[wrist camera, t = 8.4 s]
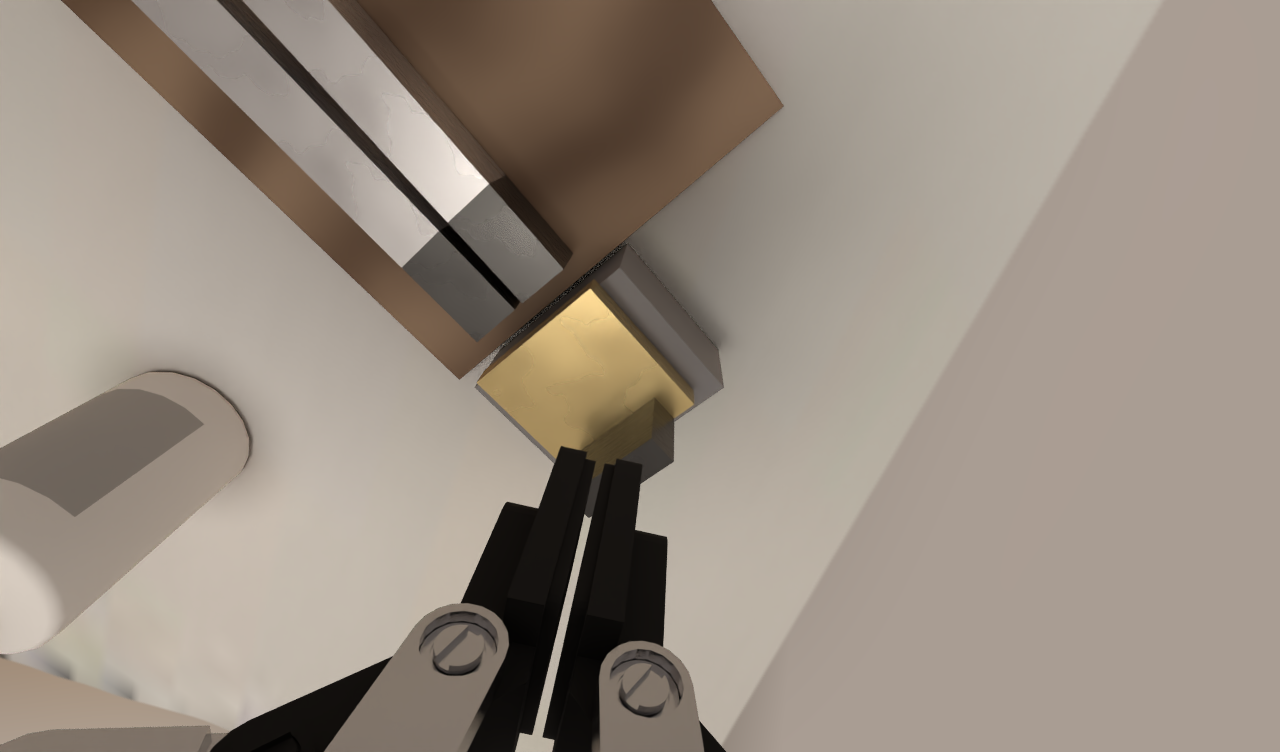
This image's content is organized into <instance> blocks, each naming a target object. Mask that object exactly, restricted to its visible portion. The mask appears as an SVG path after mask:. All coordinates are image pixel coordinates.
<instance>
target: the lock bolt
mask: <svg viewBox="0 0 1280 752" xmlns="http://www.w3.org/2000/svg"><path fill="white" fill-rule="evenodd" d="M477 384H478V385H479V386H480V387H481V388H482V389H483V390H484V391H485V392H487V393H488V394H489V395H490V396H491V397H492V398H493V399H494V400H495V401H496V402H497V403H498V404H499V405H500V406H501V407H502V408H503V409H504V410H505V411H506V412H507V413H508V414H509V415H510V416H511V417H513V418H514V419H515V420H516V421H517V422H518V423H519V424H520V425H521V426H522V427H523V428H524V429H525V430H526V431H527V432H528V433H529V434H530V435H531V436H532V437H533V438H534V439H535V440H536V441H537V442H539V443H540V444H541V445H542V446H543V447H544V448H545V449H546V450H547V451H548V452H549V453H550V454H551V455H552V456H553V457H554V458H555V459H556V458H557V455H558V452H559V450H560V447H561V446H564V447H568V448H573V449H577V450H582V451H586V452H587V457H586V459H589V460H593V461H596V464H595V468H594V473H593V477H592V482H591V486H590V491H589V495H588V500H587V504H586V509H585V513H584V514H585V515H586V516H587V517H588V518H590V517H591V516H592V515H593V511H594V507H595V502H596V498H597V493H598V489H599V485H600V480H601V476H602V472H603V467H604V463H607V464H611V465H615V462H616V458H617V459H622V460H626V461H631V462H635V463H640V464H642V475H641V483H642V482H644V481H645V480H647V479H648V478H650V477H651V476H653V475H654V474H656V473H657V472H659V471H660V470H662V469H663V468H665V467H666V466H668V465H669V464H671V463H672V462H674V418H676V417H677V416H678V415H680V414H681V413H683V412H684V411H686V410H687V409H689V408H690V407H691V406H693V405H694V390H693V389H692V388H691V387H690V386H689V385H688V383H687V382H686V381H685V380H684V379H683V378H682V377H681V376H680V374H679V373H678V372H677V371H676V370H675V369H674V368H673V367H672V365H671V364H670V363H669V362H668V361H667V360H666V359H665V358H664V356H663V355H662V354H661V353H660V352H659V351H658V350H657V349H656V347H655V346H654V345H653V344H652V343H651V342H650V341H649V340H648V338H647V337H646V336H645V335H644V334H643V333H642V332H641V331H640V329H639V328H638V327H637V326H636V325H635V324H634V323H633V322H632V320H631V319H630V318H629V317H628V316H627V315H626V314H625V313H624V312H623V310H622V309H621V308H620V307H619V306H618V305H617V304H616V303H615V301H614V300H613V299H612V298H611V297H610V296H609V295H608V294H607V292H606V291H605V290H604V289H603V288H602V287H601V286H600V285H599V283H598V282H597V281H596V280H595V279H593V280H592V281H591V282H590V283H589V284H587V285H586V286H585V287H584V288H583V289H581V290H580V291H579V292H578V293H577V294H575V295H574V296H573V297H572V298H571V299H569V300H568V301H567V302H566V303H565V304H563V305H562V306H561V307H560V308H559V309H557V310H556V311H555V312H554V313H553V314H551V315H550V316H549V317H548V318H547V319H545V320H544V321H543V322H542V323H541V324H539V325H538V326H537V327H536V328H535V329H533V330H532V331H531V332H530V333H529V334H527V335H526V336H525V337H524V338H523V339H521V340H520V341H519V342H518V343H517V344H515V345H514V346H513V347H512V348H511V349H509V350H508V351H507V352H506V353H505V354H503V355H502V356H501V357H500V358H499V359H497V360H496V361H495V362H494V363H493V364H491V365H490V366H489V367H488V368H487V369H485V371H484V372H483V374H482V375H481V377H480V378H479V380H478V381H477ZM641 483H640V484H641Z"/></svg>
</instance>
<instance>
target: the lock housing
mask: <svg viewBox="0 0 1280 752" xmlns="http://www.w3.org/2000/svg"><path fill="white" fill-rule="evenodd" d="M593 279H595V280H596V281H597V282H598V283H599V285H600V286H601V287H602V288H603V289H604V290H605V291H606V292H607V294H608V295H609V296H610V297H611V298H612V299H613V300H614V301H615V303H616V304H617V305H618V306H619V307H620V308H621V309H622V310H623V312H624V313H625V314H626V315H627V316H628V317H629V318H630V319H631V320H632V322H633V323H634V324H635V325H636V326H637V327H638V328H639V329H640V331H641V332H642V333H643V334H644V335H645V336H646V337H647V338H648V340H649V341H650V342H651V343H652V344H653V345H654V346H655V347H656V349H657V350H658V351H659V352H660V353H661V354H662V355H663V356H664V358H665V359H666V360H667V361H668V362H669V363H670V364H671V365H672V367H673V368H674V369H675V370H676V371H677V372H678V373H679V374H680V376H681V377H682V378H683V379H684V380H685V381H686V382H687V383H688V385H689V386H690V387H691V388H692V389H693V390H694V405H693V406H691V407H690V408H689V409H687V410H686V411H684V412H683V413H681V414H680V415H678V416H677V417H676V418H674V422H675V421H676V420H678V419H679V418H680V417H682V416H683V415H685V414H686V413H688V412H689V411H691V410H692V409H693V408H695V407H696V406H698V405H699V404H701V403H702V402H704V401H705V400H706V399H708V398H709V397H711V396H712V395H714V394H715V393H717V392H718V391H719V390H721V389H722V388H724V385H723V378H722V372H721V365H720V358H719V352H718V349H717V348H716V347H715V346H714V344H713V343H712V342H711V341H710V340H709V339H708V337H707V336H706V335H705V334H704V333H703V332H702V330H701V329H700V328H699V327H698V326H697V324H696V323H695V322H694V321H693V320H692V319H691V317H690V316H689V315H688V314H687V313H686V311H685V310H684V309H683V308H682V307H681V306H680V304H679V303H678V302H677V301H676V300H675V299H674V297H673V296H672V295H671V294H670V293H669V291H668V290H667V289H666V288H665V287H664V286H663V284H662V283H661V282H660V281H659V280H658V278H657V277H656V276H655V275H654V274H653V273H652V271H651V270H650V269H649V268H648V267H647V266H646V264H645V263H644V262H643V261H642V260H641V258H640V257H639V256H638V255H637V254H636V253H635V251H634V250H633V249H632V248H631V247H630V245H629V244H628V243H627V244H626V245H625V246H624V247H622V248H621V249H620V250H619V251H618V252H616V253H615V254H614V255H613V256H612V257H610V258H609V259H608V260H607V261H606V262H605V263H603V264H602V265H601V266H600V267H599V268H597V269H596V270H595V271H594V272H593V273H591V274H590V275H589V276H588V277H587V278H585V279H584V280H583V281H582V282H581V283H580V284H578V285H577V286H576V287H575V288H574V289H572V290H571V291H570V292H569V293H568V294H566V295H565V296H564V297H563V298H562V299H560V300H559V301H558V302H557V303H556V304H555V305H553V306H552V307H551V308H550V309H549V310H547V311H546V312H545V313H544V314H543V315H541V316H540V317H539V318H538V319H537V320H535V321H534V322H533V323H532V324H531V325H530V326H528V327H527V328H526V329H525V330H524V331H522V332H521V333H520V334H519V335H518V336H516V337H515V338H514V339H513V340H512V341H510V342H509V343H508V344H507V345H506V346H505V347H503V348H502V349H501V350H500V351H499V352H498V354H497V355H496V357H495V358H494V360H493V361H492V363H491V364H493V363H494V362H495V361H496V360H497V359H499V358H500V357H501V356H502V355H503V354H505V353H506V352H507V351H508V350H509V349H511V348H512V347H513V346H514V345H515V344H517V343H518V342H519V341H520V340H521V339H523V338H524V337H525V336H526V335H527V334H529V333H530V332H531V331H532V330H533V329H535V328H536V327H537V326H538V325H539V324H541V323H542V322H543V321H544V320H545V319H547V318H548V317H549V316H550V315H551V314H553V313H554V312H555V311H556V310H557V309H559V308H560V307H561V306H562V305H563V304H565V303H566V302H567V301H568V300H569V299H571V298H572V297H573V296H574V295H575V294H577V293H578V292H579V291H580V290H581V289H583V288H584V287H585V286H586V285H587V284H589V283H590V282H591V281H592V280H593ZM491 364H490V365H491ZM475 388H476V389H477V390H478V391H479V392H480V393H481V394H482V395H483V396H484V397H485V398H486V399H487V400H489V401H490V402H491V403H492V404H493V405H494V406H495V407H496V408H497V409H498V410H499V411H500V412H501V413H502V414H503V415H504V416H505V417H506V418H507V419H508V420H509V421H510V422H511V423H513V424H514V425H515V426H516V427H517V428H518V429H519V430H520V431H521V432H522V433H523V434H524V435H525V436H526V437H527V438H528V439H529V440H530V441H531V442H532V443H533V444H534V445H536V446H537V447H538V448H539V449H540V450H541V451H542V452H543V453H544V454H545V455H546V456H547V457H548V458H549V459H550V460H551V461H552V462H553V463H554V464H555V461H556V459H555V458H554V457H553V456H552V455H551V454H550V453H549V452H548V451H547V450H546V449H545V448H544V447H543V446H542V445H541V444H540V443H539V442H537V441H536V440H535V439H534V438H533V437H532V436H531V435H530V434H529V433H528V432H527V431H526V430H525V429H524V428H523V427H522V426H521V425H520V424H519V423H518V422H517V421H516V420H515V419H514V418H513V417H511V416H510V415H509V414H508V413H507V412H506V411H505V410H504V409H503V408H502V407H501V406H500V405H499V404H498V403H497V402H496V401H495V400H494V399H493V398H492V397H491V396H490V395H489V394H488V393H487V392H485V391H484V390H483V389H482V388H481V387H480V386H479V385H478V384H477V385H476V386H475Z"/></svg>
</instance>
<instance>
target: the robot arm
mask: <svg viewBox="0 0 1280 752" xmlns="http://www.w3.org/2000/svg"><path fill="white" fill-rule="evenodd" d="M586 457H587V452H586V451H582V450H577V449H573V448H568V447H564V446H561V447H560V450H559V452H558V455H557V458H556V461H555V464H554V466H553V469H552V472H551V475H550V478H549V480H548V483H547V486H546V489H545V492H544V494H543V497H542V500H541V503H540V506H539V509H538V508H533V507H529V506H524V505H519V504H515V503H510V502H506V503H505V505H504V507H503V509H502V511H501V513H500V515H499V518H498V520H497V522H496V524H495V527H494V529H493V531H492V534H491V536H490V538H489V540H488V543H487V545H486V547H485V549H484V552H483V554H482V556H481V558H480V561H479V563H478V565H477V567H476V570H475V572H474V574H473V576H472V579H471V581H470V583H469V586H468V588H467V590H466V592H465V595H464V597H463V599H462V601H461V604H450V605H447V606H443V607H440V608H437V609H435V610H434V611H432V612H430V613H429V614H427V615H425V616H424V617H423V618H422V619H421V620H420V621H419V622H418V623H417V624H416V625H415V626H414V628H413V629H412V631H411V632H410V633H409V635H408V636H407V638H406V639H405V640H404V642H403V643H402V644H401V646H400V647H399V649H398V650H397V651H396V653H395V654H394V656H392V657H390V658H388V659H386V660H383V661H381V662H379V663H377V664H374V665H372V666H370V667H368V668H365V669H363V670H361V671H359V672H357V673H354V674H352V675H350V676H348V677H345V678H343V679H341V680H339V681H336V682H334V683H332V684H330V685H327V686H325V687H323V688H321V689H318V690H316V691H314V692H312V693H309V694H307V695H305V696H303V697H300V698H298V699H296V700H294V701H291V702H289V703H287V704H285V705H283V706H280V707H278V708H276V709H274V710H271V711H269V712H267V713H265V714H262V715H260V716H258V717H256V718H253V719H251V720H249V721H247V722H246V723H244V724H242V725H240V726H239V727H237V728H235V729H234V730H232V731H230V732H229V733H211V731H210V726H175V727H174V726H173V727H134V728H97V729H56V730H47V731H41V732H35V733H30V734H26V735H23V736H21V737H18V738H16V739H13V740H11V741H9V742H6V743H4V744H1V745H0V752H515V750H516V746H517V742H518V738H519V734H520V733H524V734H529V735H532V734H533V730H534V725H535V721H536V717H537V713H538V709H539V705H540V700H541V696H542V692H543V688H544V684H545V680H546V676H547V671H548V667H549V663H550V659H551V655H552V651H553V646H554V642H555V638H556V634H557V630H558V626H559V621H560V617H561V613H562V609H563V605H564V601H565V597H566V592H567V588H568V584H569V580H570V576H571V571H572V567H573V563H574V558H575V554H576V549H577V545H578V540H579V536H580V531H581V527H582V522H583V518H584V513H585V509H586V504H587V500H588V495H589V491H590V486H591V482H592V477H593V473H594V468H595V464H596V461H593V460H589V459H586ZM641 475H642V464H640V463H635V462H631V461H626V460H622V459H617V458H616V462H615V465H611V464H607V463H604V467H603V472H602V476H601V480H600V485H599V489H598V493H597V498H596V502H595V507H594V511H593V515H592V520H591V524H590V528H589V533H588V537H587V541H586V546H585V550H584V554H583V559H582V563H581V567H580V572H579V576H578V581H577V585H576V590H575V594H574V599H573V603H572V607H571V612H570V616H569V621H568V625H567V630H566V634H565V639H564V643H563V648H562V652H561V657H560V661H559V666H558V670H557V674H556V679H555V683H554V688H553V692H552V697H551V701H550V706H549V710H548V715H547V719H546V724H545V728H544V733H543V737H544V738H548V739H553V740H555V741H554V746H553V751H552V752H726V751H725V750H724V749H723V748H722V746H721V745H720V744H719V743H718V742H717V741H716V739H715V738H714V737H713V736H712V735H711V734H710V733H709V731H708V730H707V729H706V728H705V727H704V726H703V724H702V723H701V722H700V721H699V717H698V711H697V705H696V699H695V693H694V687H693V683H692V680H691V677H690V674H689V672H688V670H687V669H686V667H685V666H684V664H683V663H682V661H681V660H680V659H679V658H678V657H677V656H675V655H674V654H673V653H672V652H671V651H670V650H668V649H666V648H664V647H663V638H664V615H665V592H666V568H667V537H665V536H660V535H656V534H651V533H646V532H642V531H637V530H635V525H636V517H637V508H638V500H639V491H640V483H641Z"/></svg>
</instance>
